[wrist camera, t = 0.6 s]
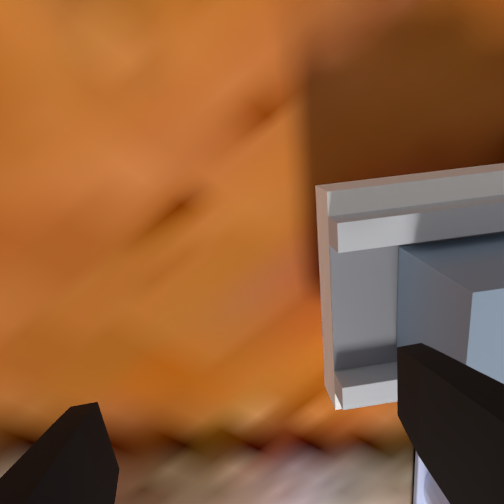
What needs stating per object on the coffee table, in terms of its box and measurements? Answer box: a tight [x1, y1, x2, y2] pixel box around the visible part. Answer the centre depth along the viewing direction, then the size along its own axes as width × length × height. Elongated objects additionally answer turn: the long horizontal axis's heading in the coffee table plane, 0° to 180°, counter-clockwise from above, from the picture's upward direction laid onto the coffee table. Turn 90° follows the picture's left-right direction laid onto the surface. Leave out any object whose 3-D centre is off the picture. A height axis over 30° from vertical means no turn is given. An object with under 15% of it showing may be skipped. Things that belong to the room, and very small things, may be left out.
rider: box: [396, 233, 504, 384], centre depth 12 cm, size 4×5×4 cm
